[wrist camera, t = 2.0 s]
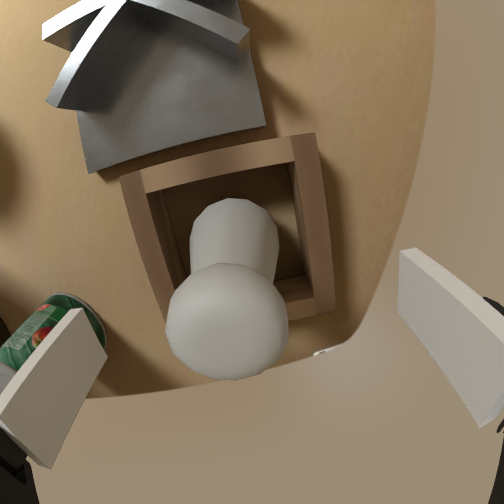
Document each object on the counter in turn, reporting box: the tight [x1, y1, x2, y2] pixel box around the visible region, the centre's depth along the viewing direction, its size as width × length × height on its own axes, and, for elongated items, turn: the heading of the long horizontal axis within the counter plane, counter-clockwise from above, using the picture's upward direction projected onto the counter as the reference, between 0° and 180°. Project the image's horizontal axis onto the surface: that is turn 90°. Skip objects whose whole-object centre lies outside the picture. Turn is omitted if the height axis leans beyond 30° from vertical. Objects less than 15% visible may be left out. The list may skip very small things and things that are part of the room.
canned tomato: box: [0, 292, 107, 395], centre depth 18 cm, size 8×8×11 cm
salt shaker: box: [165, 198, 289, 380], centre depth 15 cm, size 6×6×13 cm
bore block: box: [119, 133, 336, 322], centre depth 19 cm, size 12×12×4 cm
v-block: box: [42, 0, 266, 174], centre depth 14 cm, size 13×12×5 cm
